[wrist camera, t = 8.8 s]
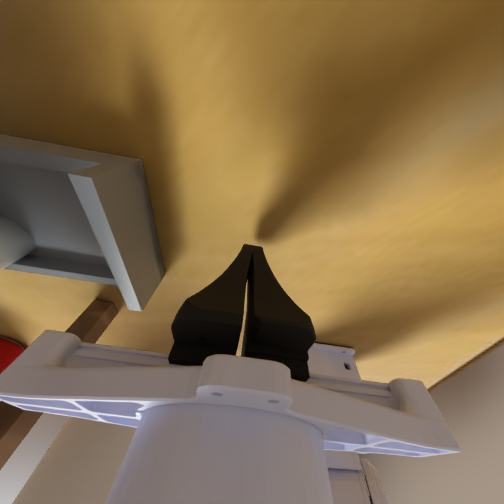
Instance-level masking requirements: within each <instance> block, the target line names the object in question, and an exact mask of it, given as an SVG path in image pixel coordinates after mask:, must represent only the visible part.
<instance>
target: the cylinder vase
mask: <svg viewBox="0 0 504 504" xmlns="http://www.w3.org/2000/svg"><path fill="white" fill-rule="evenodd" d="M136 429H137V428H135V427H129V426H124V425H118V424H112V423H106V422H101V421H95V420H89V419H83V418H77V417H71V416H69V418H68V419H67V421H66V422H65V424H64V425H63V427H62V428H61V430H60V432H59V433H58V435H57V436H56V438H55V439H54V441H53V442H52V444H51V445H50V447H49V448H48V450H47V451H46V453H45V455H44V456H43V458H42V459H41V461H40V462H39V464H38V465H37V467H36V468H35V470H34V471H33V473H32V474H31V476H30V477H29V479H28V481H27V482H26V484H25V485H24V487H23V488H22V490H21V491H20V493H19V494H18V496H17V497H16V499H15V500H14V502H13V503H12V504H106V501H107V499H108V496H109V494H110V491H111V489H112V487H113V484H114V482H115V479H116V477H117V475H118V472H119V470H120V467H121V465H122V463H123V460H124V458H125V455H126V453H127V451H128V448H129V446H130V443H131V441H132V438H133V436H134V434H135V431H136Z"/></svg>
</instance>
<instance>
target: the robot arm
mask: <svg viewBox="0 0 504 504" xmlns="http://www.w3.org/2000/svg"><path fill="white" fill-rule="evenodd" d="M247 279H248V284H247V312H246V320H245V329H244V337H243V345H242V352H241V356H236V351H237V347H238V343H239V338H240V333H241V329H242V323H243V314H244V301H245V290H246V283H247ZM171 329H172V334H173V338H174V344H173V347H172V349H171V352H170V354H166V353H159V352H151V351H144V350H137V349H129V348H122V347H114V346H107V345H100V344H92V343H85V342H81V340H80V338H79V337H78V336H76V335H74V334H72V333H68V332H61V331H53V330H45V331H44V332H43V333H42V334H41V335H40V336H39V337H38V338H37V339H36V340H35V341H34V342H33V343H32V344H31V345H30V346H29V347H28V348H27V349H26V350H25V351H24V352H23V353H22V354H21V355H20V356H19V357H18V358H16V359H15V360H14V361H13V362H12V363H11V364H10V365H9V366H8V367H7V368H6V369H5V370H4V371H3V372H2V373H1V374H0V400H1V401H3V402H6V403H8V404H11V405H13V406H16V407H18V408H21V409H23V410H29V411H37V412H45V413H52V414H59V415H65V416H71V417H77V418H83V419H89V420H95V421H101V422H106V423H112V424H118V425H124V426H129V427H135V428H137V429H136V431H135V434H134V436H133V438H132V441H131V443H130V446H129V448H128V451H127V453H126V455H125V458H124V460H123V463H122V465H121V467H120V470H119V472H118V475H117V477H116V479H115V482H114V484H113V487H112V489H111V491H110V494H109V496H108V499H107V501H106V504H388V502H387V499H386V495H385V492H384V489H383V486H382V483H381V480H380V478H379V475H378V472H377V470H376V469H375V468H374V467H373V465H371V464H370V463H369V461H368V459H364V458H363V459H361V461H362V464H363V468H364V472H365V479H366V483H367V487H368V490H369V494H370V496H369V495H368V491H367V487H366V484H365V480H364V476H363V472H362V469H361V465H360V462H359V457H358V454H357V453H363V454H364V453H380V454H391V455H403V456H411V457H426V456H434V455H441V454H449V453H457V452H461V448H460V446H459V444H458V442H457V441H456V439H455V437H454V436H453V434H452V432H451V431H450V429H449V427H448V425H447V424H446V422H445V420H444V418H443V417H442V415H441V413H440V411H439V410H438V408H437V406H436V405H435V403H434V401H433V399H432V398H431V396H430V394H429V392H428V391H427V389H426V387H425V386H424V384H423V382H421V381H418V380H411V379H404V378H398V379H394V380H392V381H390V382H389V383H380V382H373V381H365V380H361V378H360V375H359V372H358V369H357V366H356V364H355V361H354V358H353V355H354V354H355V350H354V349H352V348H346V347H339V346H332V345H325V344H318V343H314V342H315V340H316V335H315V331H314V327H313V324H312V321H311V319H310V317H309V316H308V315H307V314H306V313H305V312H304V311H303V310H302V309H301V308H299V307H298V306H297V305H296V304H295V303H294V302H293V301H292V299H291V298H290V297H289V296H288V295H287V294H286V292H285V291H284V290H283V288H282V287H281V286H280V284H279V283H278V281H277V280H276V278H275V276H274V275H273V273H272V271H271V269H270V267H269V265H268V262H267V260H266V257H265V255H264V252H263V248H262V247H260V246H254V245H247V244H244V245H243V247H242V249H241V251H240V253H239V254H238V256H237V257H236V259H235V260H234V261H233V263H232V264H231V265H230V266H229V267H228V268H227V270H226V271H225V272H224V273H223V274H222V275H221V276H219V277H218V278H217V279H216V280H215V281H214V282H212V283H211V284H210V285H208V286H207V287H205V288H204V289H203V290H201V291H200V292H198V293H196V294H195V295H193V296H191V297H189V298H188V299H186V301H185V302H184V303H183V305H182V306H181V308H180V309H179V311H178V313H177V314H176V317H175V319H174V321H173V323H172V327H171Z"/></svg>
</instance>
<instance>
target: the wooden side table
mask: <svg viewBox="0 0 504 504" xmlns="http://www.w3.org/2000/svg"><path fill="white" fill-rule="evenodd" d="M117 313H118V312H117V310H116V308H115V306H114V304H113V303H112V302H105V301H98V300H94V301H93V302H92V303H91V304H90V305H89V307H88V308H87V309H86V310H85V311H84V312H83V313H82V314H81V315H80V316H79V317H78V318H77V319H76V321H75V322H74V323H73V324H72V325H71V326H70V327H69V328H68V329H67V330H66V331H65V332H68V333H72V334H74V335H76V336H78V337H79V338H80V340H81V342H85V343H92V344H95V343H96V341H97V340H98V339H99V337H100V336H101V335H102V333H103V332H104V331H105V329H106V328H107V327H108V325H109V324H110V323H111V321H112V320H113V319H114V317H115V316H116V315H117ZM42 414H43V412H37V411H29V410H23V409H21V408H18V407H16V406H13V405H11V404H8V403H6V402H3V401H1V402H0V470H1V468H2V467H3V466H4V464H5V463H6V462H7V460H8V459H9V458H10V456H11V455H12V454H13V452H14V451H15V450H16V448H17V447H18V446H19V444H20V443H21V441H22V440H23V439H24V438H25V436H26V435H27V434H28V432H29V431H30V429H31V428H32V427H33V426H34V424H35V423H36V422H37V420H38V418H40V416H41V415H42Z"/></svg>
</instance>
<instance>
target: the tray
mask: <svg viewBox="0 0 504 504" xmlns="http://www.w3.org/2000/svg"><path fill="white" fill-rule="evenodd" d="M2 269H10V270H16V271H23V272H30V273H36V274H43V275H50V276H56V277H63V278H70V279H76V280H83V281H90V282H96V283H103V284H109V285H116V286H118V287H119V289H120V292H121V294H122V296H123V298H124V301H125V303H126V305H127V307H128V309H129V310H135V311H142V310H143V309H144V307H145V306H146V304H147V302H148V301H149V299H150V298H151V296H152V294H153V293H154V291H155V290H156V288H157V287H158V285H159V283H160V282H161V280H162V279H163V277H164V276H165V272H164V267H163V262H162V257H161V252H160V247H159V242H158V237H157V232H156V227H155V222H154V217H153V212H152V207H151V202H150V197H149V192H148V187H147V182H146V177H145V172H144V167H143V162H142V159H137V158H131V157H126V156H120V155H115V154H109V153H104V152H98V151H92V150H87V149H81V148H76V147H70V146H65V145H59V144H54V143H48V142H42V141H37V140H31V139H26V138H20V137H15V136H9V135H3V134H0V270H2Z"/></svg>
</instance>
